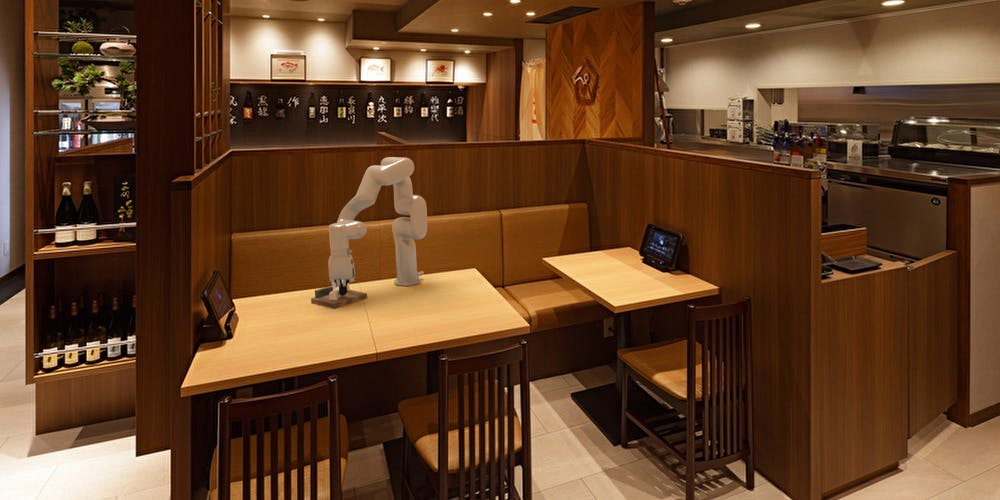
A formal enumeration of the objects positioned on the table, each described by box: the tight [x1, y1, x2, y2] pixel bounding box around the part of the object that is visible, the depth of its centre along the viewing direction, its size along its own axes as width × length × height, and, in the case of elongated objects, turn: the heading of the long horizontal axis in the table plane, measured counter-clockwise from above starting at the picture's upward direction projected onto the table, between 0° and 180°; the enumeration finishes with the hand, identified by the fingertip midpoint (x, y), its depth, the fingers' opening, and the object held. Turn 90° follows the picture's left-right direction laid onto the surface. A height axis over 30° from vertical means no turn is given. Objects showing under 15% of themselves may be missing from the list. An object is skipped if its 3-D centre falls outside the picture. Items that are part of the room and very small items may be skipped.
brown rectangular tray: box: [310, 285, 368, 310], centre depth 244 cm, size 18×15×5 cm
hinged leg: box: [329, 281, 350, 300], centre depth 245 cm, size 15×3×4 cm, turn 174°
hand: (343, 294), depth 241 cm, fingers closed
